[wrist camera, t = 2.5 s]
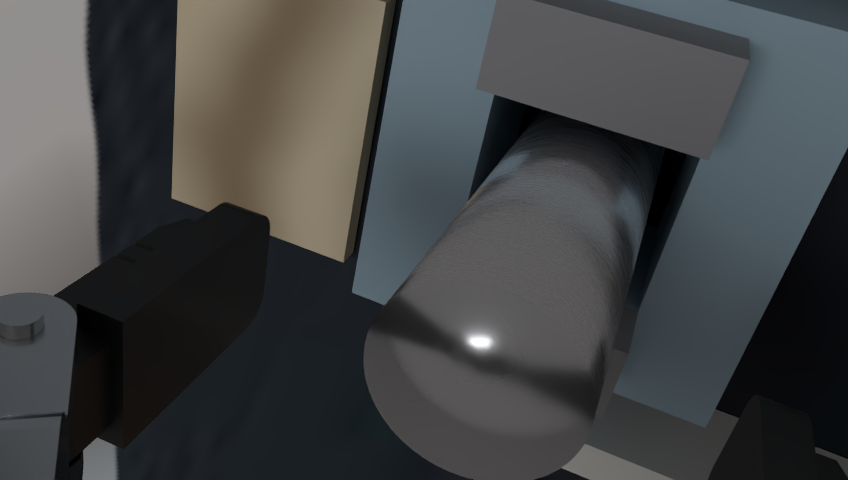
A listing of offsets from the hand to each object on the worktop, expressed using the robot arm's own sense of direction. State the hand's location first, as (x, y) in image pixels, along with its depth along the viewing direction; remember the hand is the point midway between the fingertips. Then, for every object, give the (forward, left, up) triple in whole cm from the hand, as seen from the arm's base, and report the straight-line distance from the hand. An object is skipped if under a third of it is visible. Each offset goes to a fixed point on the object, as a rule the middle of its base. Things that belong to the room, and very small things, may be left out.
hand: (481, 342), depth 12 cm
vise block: (0, 0, -12) cm, 12 cm away
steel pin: (0, 0, -12) cm, 12 cm away
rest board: (+10, +3, -12) cm, 16 cm away
